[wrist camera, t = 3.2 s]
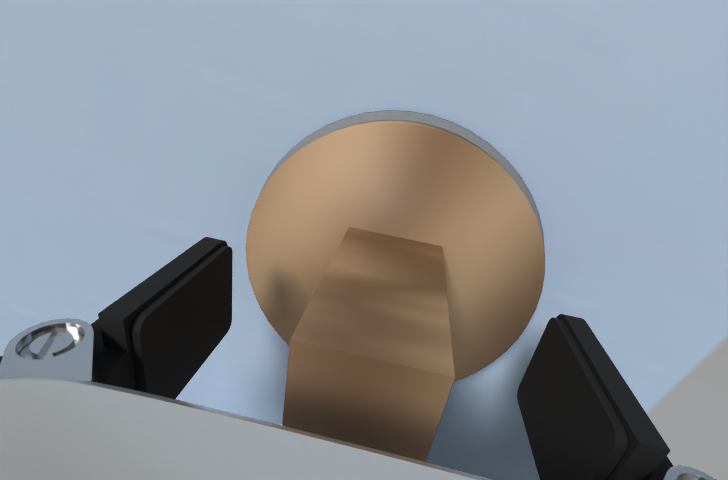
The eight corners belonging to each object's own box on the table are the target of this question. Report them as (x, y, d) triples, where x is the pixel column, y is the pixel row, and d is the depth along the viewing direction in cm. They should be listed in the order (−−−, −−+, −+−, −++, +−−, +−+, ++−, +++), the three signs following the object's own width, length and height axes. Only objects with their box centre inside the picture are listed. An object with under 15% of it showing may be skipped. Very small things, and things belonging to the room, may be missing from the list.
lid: (586, 153, 11) (784, 244, 5) (486, 396, 16) (527, 608, 9) (263, 93, 12) (88, 107, 6) (253, 340, 17) (145, 502, 10)
